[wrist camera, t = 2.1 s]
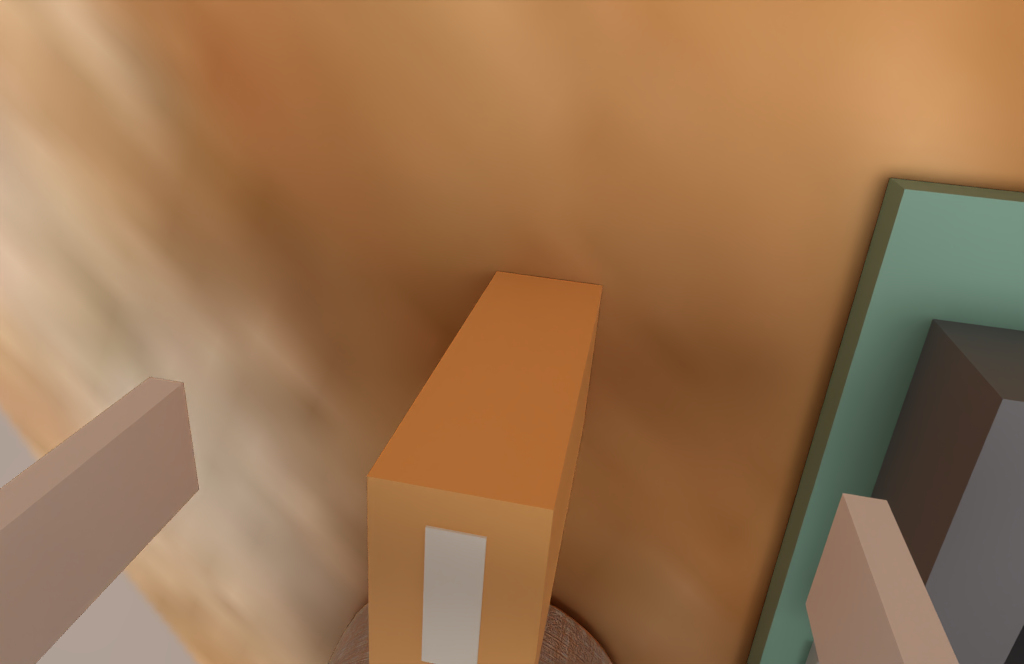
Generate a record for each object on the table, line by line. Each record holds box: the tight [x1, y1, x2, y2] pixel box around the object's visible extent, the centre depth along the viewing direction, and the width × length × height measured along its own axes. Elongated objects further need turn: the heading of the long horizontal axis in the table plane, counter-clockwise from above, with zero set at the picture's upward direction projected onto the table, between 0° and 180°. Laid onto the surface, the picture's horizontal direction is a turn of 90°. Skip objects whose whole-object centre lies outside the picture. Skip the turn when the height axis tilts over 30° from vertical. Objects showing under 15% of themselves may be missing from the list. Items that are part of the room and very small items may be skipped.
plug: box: [367, 271, 603, 664], centre depth 17 cm, size 4×3×10 cm, turn 175°
